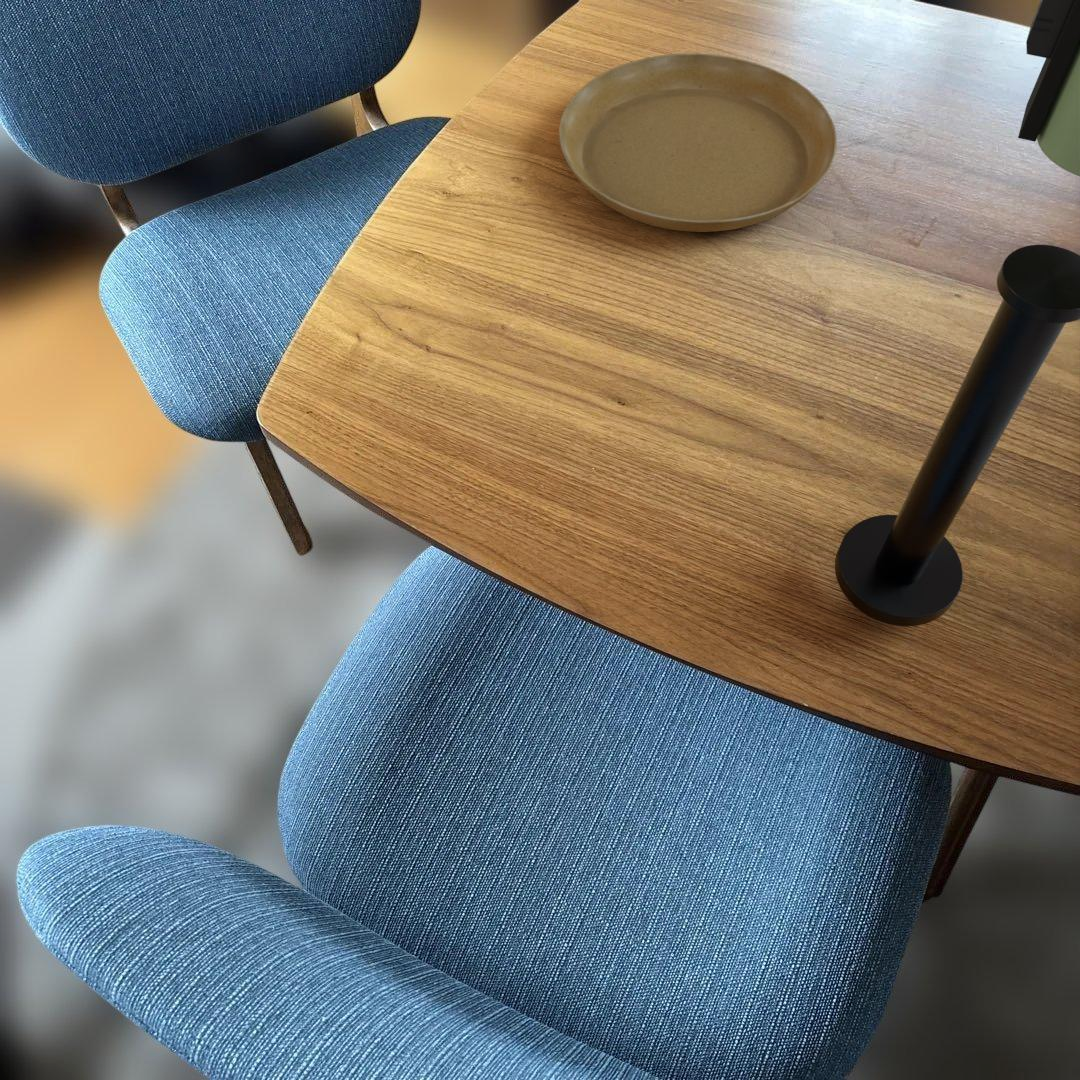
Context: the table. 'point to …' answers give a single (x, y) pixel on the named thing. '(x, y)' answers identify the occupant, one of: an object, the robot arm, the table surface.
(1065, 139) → the sage green cylinder
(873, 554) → the stand
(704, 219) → the plant saucer
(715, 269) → the table surface
